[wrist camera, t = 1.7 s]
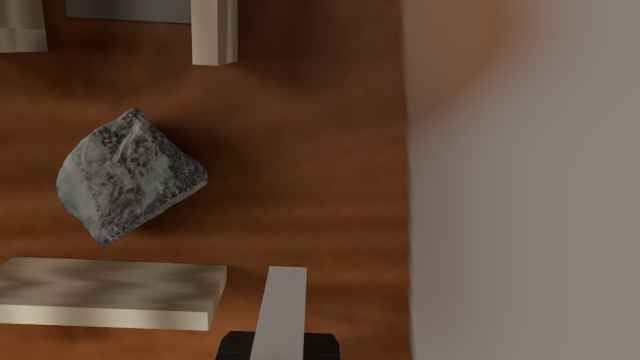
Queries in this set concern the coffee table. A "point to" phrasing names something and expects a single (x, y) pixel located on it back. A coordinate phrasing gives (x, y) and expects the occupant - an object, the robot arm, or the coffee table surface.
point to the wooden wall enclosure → (101, 275)
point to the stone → (125, 177)
